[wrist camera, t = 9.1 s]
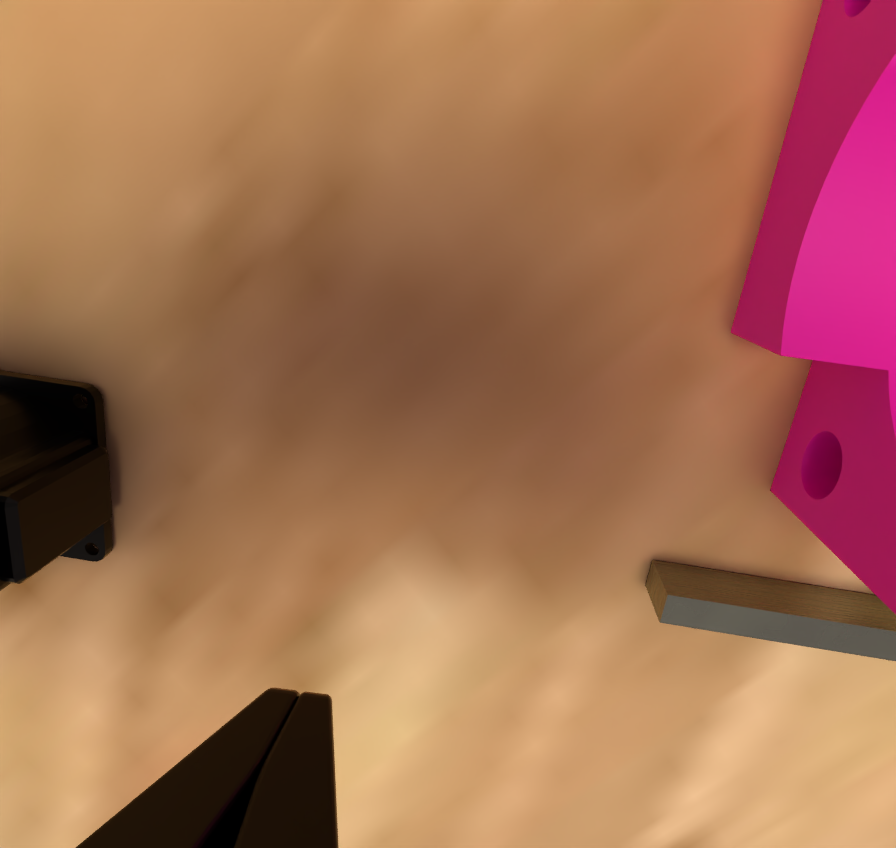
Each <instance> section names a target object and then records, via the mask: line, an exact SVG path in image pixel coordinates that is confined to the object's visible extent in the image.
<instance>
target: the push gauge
mask: <svg viewBox="0 0 896 848" xmlns="http://www.w3.org/2000/svg"><path fill="white" fill-rule="evenodd" d="M645 586H646V588H647V591H648V593H649V596H650V598H651V601H652V604H653V606H654V609H655V611H656V614H657V617H658V619H659V622H660V623H666V624H672V625H678V626H685V627H691V628H697V629H703V630H709V631H715V632H721V633H727V634H733V635H739V636H745V637H752V638H758V639H764V640H770V641H776V642H782V643H788V644H794V645H800V646H806V647H813V648H819V649H825V650H831V651H837V652H843V653H849V654H855V655H861V656H867V657H873V658H880V659H886V660H892V661H896V614H894V613H893V612H892V611H891V610H890V609H889V608H888V607H887V606H886V605H885V604H884V603H883V602H882V601H881V600H880V599H879V598H878V597H877V596H876V595H871V594H865V593H859V592H852V591H846V590H840V589H833V588H827V587H821V586H814V585H808V584H802V583H796V582H789V581H783V580H777V579H770V578H764V577H758V576H752V575H745V574H739V573H733V572H726V571H720V570H714V569H707V568H701V567H695V566H689V565H682V564H676V563H670V562H663V561H657V560H652V563H651V567H650V570H649V574H648V578H647V581H646V585H645Z"/></svg>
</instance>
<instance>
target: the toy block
mask: <svg viewBox="0 0 896 848" xmlns="http://www.w3.org/2000/svg"><path fill="white" fill-rule="evenodd" d="M731 333H733V334H735V335H737V336H739V337H741V338H744V339H746V340H748V341H750V342H752V343H755V344H757V345H759V346H761V347H763V348H765V349H768V350H770V351H772V352H774V353H776V354H778V355H781V356H787V357H795V358H802V359H809V360H813V361H812V364H811V367H810V370H809V374H808V377H807V380H806V383H805V386H804V389H803V392H802V395H801V398H800V401H799V404H798V407H797V410H796V413H795V416H794V419H793V422H792V425H791V428H790V431H789V434H788V438H787V441H786V444H785V447H784V450H783V453H782V456H781V459H780V462H779V465H778V468H777V471H776V474H775V477H774V480H773V483H772V486H771V489H770V491H771V492H772V493H773V494H774V495H775V496H776V497H777V498H778V499H779V500H781V501H782V502H783V503H784V504H785V505H786V506H787V507H788V508H789V509H790V510H791V511H792V512H793V513H794V514H795V515H796V516H797V517H798V518H799V519H800V520H801V521H802V522H803V523H804V524H805V525H806V526H807V527H808V528H809V529H810V530H811V531H812V532H813V533H814V534H815V535H816V536H817V537H818V538H819V539H820V540H821V541H822V542H823V543H824V544H825V545H826V546H827V547H828V548H829V549H830V550H831V551H832V552H833V553H834V554H835V555H836V556H837V557H838V558H839V559H840V560H841V561H842V562H843V563H844V564H845V565H846V566H847V567H848V568H849V569H850V570H851V571H852V572H853V573H854V574H855V575H856V576H857V577H858V578H859V579H860V580H861V581H862V582H863V583H864V584H865V585H866V586H867V587H868V588H869V589H870V590H871V591H872V592H873V593H874V594H875V595H876V596H877V597H878V598H879V599H880V600H881V601H882V602H883V603H884V604H885V605H886V606H887V607H888V608H889V609H890V610H891V611H892V612H893V613H894V614H896V0H823V2H822V5H821V9H820V13H819V16H818V20H817V23H816V27H815V31H814V34H813V38H812V41H811V45H810V49H809V52H808V56H807V59H806V63H805V67H804V70H803V74H802V77H801V81H800V85H799V88H798V92H797V95H796V99H795V102H794V106H793V110H792V113H791V117H790V120H789V124H788V128H787V131H786V135H785V138H784V142H783V146H782V149H781V153H780V156H779V160H778V164H777V167H776V171H775V174H774V178H773V182H772V185H771V189H770V192H769V196H768V200H767V203H766V207H765V210H764V214H763V218H762V221H761V225H760V228H759V232H758V235H757V239H756V243H755V246H754V250H753V253H752V257H751V261H750V264H749V268H748V271H747V275H746V279H745V282H744V286H743V289H742V293H741V297H740V300H739V304H738V307H737V311H736V315H735V318H734V322H733V325H732V329H731Z"/></svg>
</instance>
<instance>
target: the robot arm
mask: <svg viewBox="0 0 896 848" xmlns="http://www.w3.org/2000/svg"><path fill="white" fill-rule="evenodd" d="M81 395H84V396H85V397H86V398H87V401H88V405H87V404H85V403H84V402H83V401H82V398H81ZM111 517H112V507H111V492H110V476H109V460H108V453H107V451H106V437H105V422H104V406H103V398H102V394H101V393H100V391H99V390H98V389H97V388H96V387H94V386H93V385H90V384H87V383H80V382H74V381H67V380H61V379H54V378H47V377H41V376H34V375H27V374H21V373H14V372H8V371H1V370H0V591H1V590H2V589H3V588H5V587H6V586H8V585H9V584H10V583H16V584H20V583H22V582H24V581H25V580H27V579H28V578H30V577H31V576H32V575H34V574H35V573H36V572H38V571H39V570H41V569H42V568H43V567H45V566H46V565H47V564H49V563H50V562H52V561H53V560H54V559H56V558H57V557H58V556H64V557H70V558H76V559H82V560H88V561H100V560H102V559H103V558H104V557H106V556H107V555H108V554H109V553H110V552H111V551H112V546H113V545H112V530H111ZM93 544H95V545H96V546H97V547H98V549H97V548H95V547H94V546H93ZM76 848H338V828H337V806H336V783H335V761H334V738H333V716H332V699H331V697H330V696H329V695H327V694H320V693H312V692H303V693H302V694H300V693H299V692H297V691H296V690H288V689H281V688H270V689H268V690H266V691H265V692H264V693H262V694H261V695H260V696H259V697H257V698H256V699H255V700H254V701H253V702H251V703H250V704H249V705H248V706H247V707H245V708H244V709H243V710H242V711H241V712H239V713H238V714H237V715H236V716H234V717H233V718H232V719H231V720H230V721H228V722H227V723H226V724H225V725H224V726H222V727H221V728H220V729H219V730H218V731H216V732H215V733H214V734H213V735H211V736H210V737H209V738H208V739H207V740H205V741H204V742H203V743H202V744H201V745H199V746H198V747H197V748H196V749H194V750H193V751H192V752H191V753H190V754H188V755H187V756H186V757H185V758H184V759H182V760H181V761H180V762H179V763H178V764H176V765H175V766H174V767H173V768H171V769H170V770H169V771H168V772H167V773H165V774H164V775H163V776H162V777H161V778H159V779H158V780H157V781H156V782H155V783H153V784H152V785H151V786H150V787H148V788H147V789H146V790H145V791H144V792H142V793H141V794H140V795H139V796H138V797H136V798H135V799H134V800H133V801H132V802H130V803H129V804H128V805H127V806H125V807H124V808H123V809H122V810H121V811H119V812H118V813H117V814H116V815H115V816H113V817H112V818H111V819H110V820H109V821H107V822H106V823H105V824H104V825H102V826H101V827H100V828H99V829H98V830H96V831H95V832H94V833H93V834H92V835H90V836H89V837H88V838H87V839H86V840H84V841H83V842H82V843H81V844H79V845H78V846H77V847H76Z"/></svg>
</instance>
